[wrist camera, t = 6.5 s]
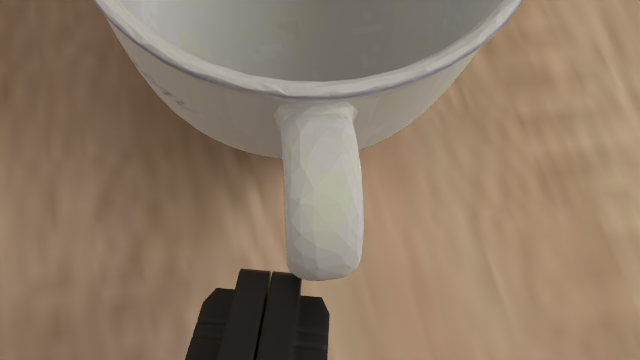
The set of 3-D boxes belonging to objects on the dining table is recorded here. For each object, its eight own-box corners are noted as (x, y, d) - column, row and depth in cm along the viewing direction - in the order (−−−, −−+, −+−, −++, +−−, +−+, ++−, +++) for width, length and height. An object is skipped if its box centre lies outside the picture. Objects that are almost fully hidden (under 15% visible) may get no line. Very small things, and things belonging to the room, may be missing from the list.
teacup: (180, -117, 21) (106, -370, 13) (475, -79, 21) (573, -313, 13) (96, 262, 18) (-67, 220, 10) (443, 310, 18) (548, 304, 10)
